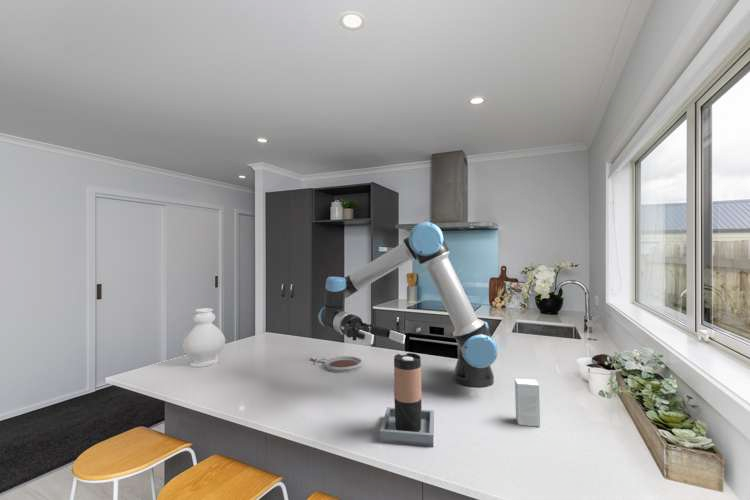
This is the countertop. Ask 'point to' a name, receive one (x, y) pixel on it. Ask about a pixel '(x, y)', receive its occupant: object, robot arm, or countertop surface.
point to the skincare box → (527, 402)
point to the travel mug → (407, 392)
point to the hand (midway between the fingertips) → (389, 339)
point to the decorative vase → (204, 340)
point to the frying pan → (341, 363)
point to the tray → (407, 437)
